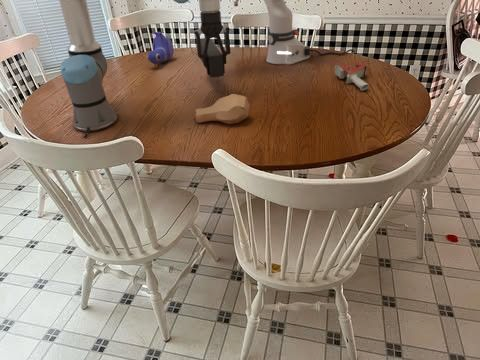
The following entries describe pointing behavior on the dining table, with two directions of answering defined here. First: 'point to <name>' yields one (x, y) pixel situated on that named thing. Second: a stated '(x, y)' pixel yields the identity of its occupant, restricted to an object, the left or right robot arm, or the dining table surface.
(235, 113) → the squash
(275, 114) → the dining table surface
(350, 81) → the tape dispenser
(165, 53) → the toy
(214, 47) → the bar
